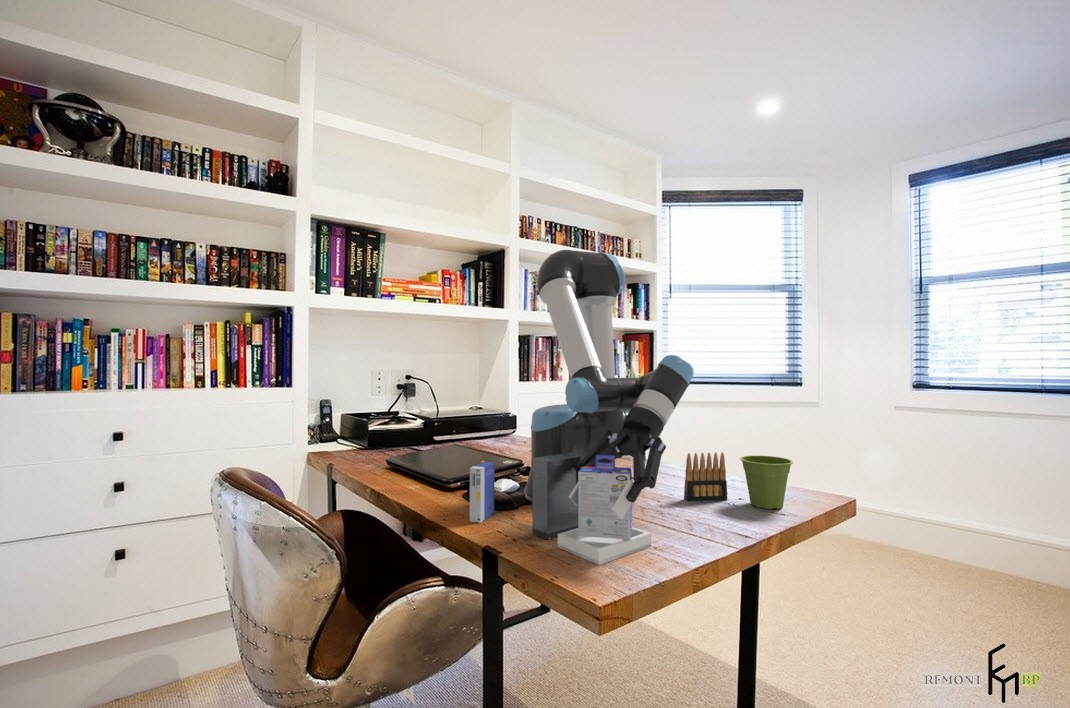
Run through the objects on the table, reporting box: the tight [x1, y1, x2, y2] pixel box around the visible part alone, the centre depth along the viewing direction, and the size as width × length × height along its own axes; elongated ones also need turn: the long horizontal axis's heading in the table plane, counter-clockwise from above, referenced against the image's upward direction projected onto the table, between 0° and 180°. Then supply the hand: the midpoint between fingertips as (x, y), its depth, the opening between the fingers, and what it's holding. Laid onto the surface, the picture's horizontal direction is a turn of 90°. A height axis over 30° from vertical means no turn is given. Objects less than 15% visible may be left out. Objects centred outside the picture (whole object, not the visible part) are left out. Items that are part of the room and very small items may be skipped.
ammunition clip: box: [683, 452, 728, 503], centre depth 129 cm, size 11×2×12 cm, turn 96°
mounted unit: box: [531, 449, 592, 540], centre depth 107 cm, size 5×18×15 cm, turn 129°
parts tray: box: [557, 526, 652, 566], centre depth 96 cm, size 11×14×2 cm
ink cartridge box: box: [578, 455, 633, 539], centre depth 96 cm, size 10×6×14 cm, turn 79°
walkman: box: [469, 460, 495, 524], centre depth 114 cm, size 8×3×12 cm, turn 162°
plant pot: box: [739, 455, 794, 510], centre depth 124 cm, size 12×12×11 cm
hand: (593, 507), depth 94 cm, fingers closed on ink cartridge box, 10 cm apart
